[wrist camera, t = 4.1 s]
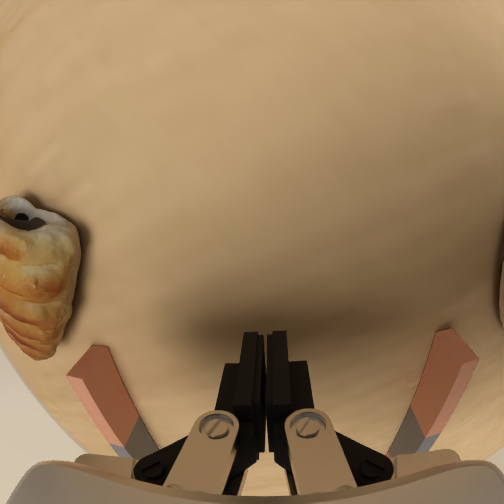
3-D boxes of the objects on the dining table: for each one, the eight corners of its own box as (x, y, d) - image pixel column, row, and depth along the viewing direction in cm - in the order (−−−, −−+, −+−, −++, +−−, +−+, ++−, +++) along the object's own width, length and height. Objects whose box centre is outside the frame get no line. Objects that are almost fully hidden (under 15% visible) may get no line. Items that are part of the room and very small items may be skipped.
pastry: (81, 364, 14) (52, 402, 10) (11, 318, 13) (-21, 344, 9) (92, 221, 11) (39, 243, 7) (11, 186, 11) (-37, 196, 7)
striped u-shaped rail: (451, 328, 12) (478, 358, 9) (357, 510, 20) (359, 527, 17) (92, 344, 13) (66, 374, 10) (199, 515, 22) (195, 532, 19)
